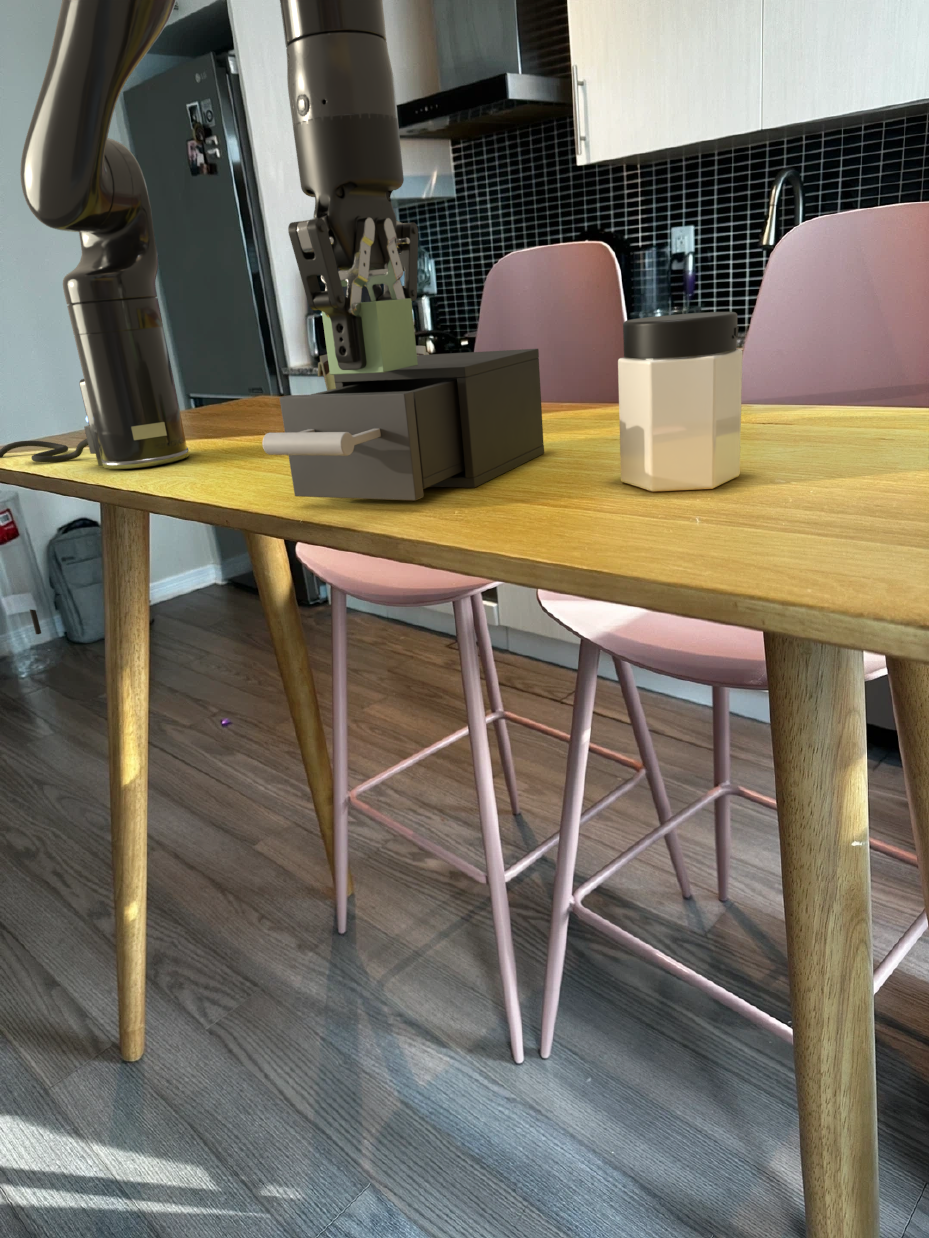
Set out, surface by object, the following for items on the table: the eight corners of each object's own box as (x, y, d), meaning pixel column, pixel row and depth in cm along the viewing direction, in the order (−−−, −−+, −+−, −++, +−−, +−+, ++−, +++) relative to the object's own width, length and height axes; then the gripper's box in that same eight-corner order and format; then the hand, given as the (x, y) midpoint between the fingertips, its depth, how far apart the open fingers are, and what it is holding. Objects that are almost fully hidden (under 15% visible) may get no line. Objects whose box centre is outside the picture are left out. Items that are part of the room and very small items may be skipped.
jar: (760, 481, 66) (766, 310, 61) (665, 498, 63) (664, 322, 59) (692, 463, 74) (692, 312, 69) (605, 478, 71) (600, 322, 67)
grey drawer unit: (474, 488, 72) (464, 366, 69) (348, 484, 78) (333, 373, 75) (544, 453, 84) (538, 348, 81) (430, 452, 90) (420, 355, 87)
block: (329, 374, 68) (320, 306, 67) (365, 367, 72) (358, 303, 71) (383, 372, 66) (375, 301, 64) (418, 365, 70) (411, 298, 68)
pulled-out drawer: (377, 519, 61) (362, 404, 58) (250, 513, 66) (232, 407, 64) (495, 463, 76) (488, 371, 74) (385, 462, 82) (374, 376, 79)
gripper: (328, 96, 56) (361, 375, 61) (439, 122, 67) (458, 354, 73) (237, 116, 59) (277, 378, 65) (358, 137, 71) (383, 358, 77)
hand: (373, 364), depth 69 cm, fingers closed on block, 5 cm apart
